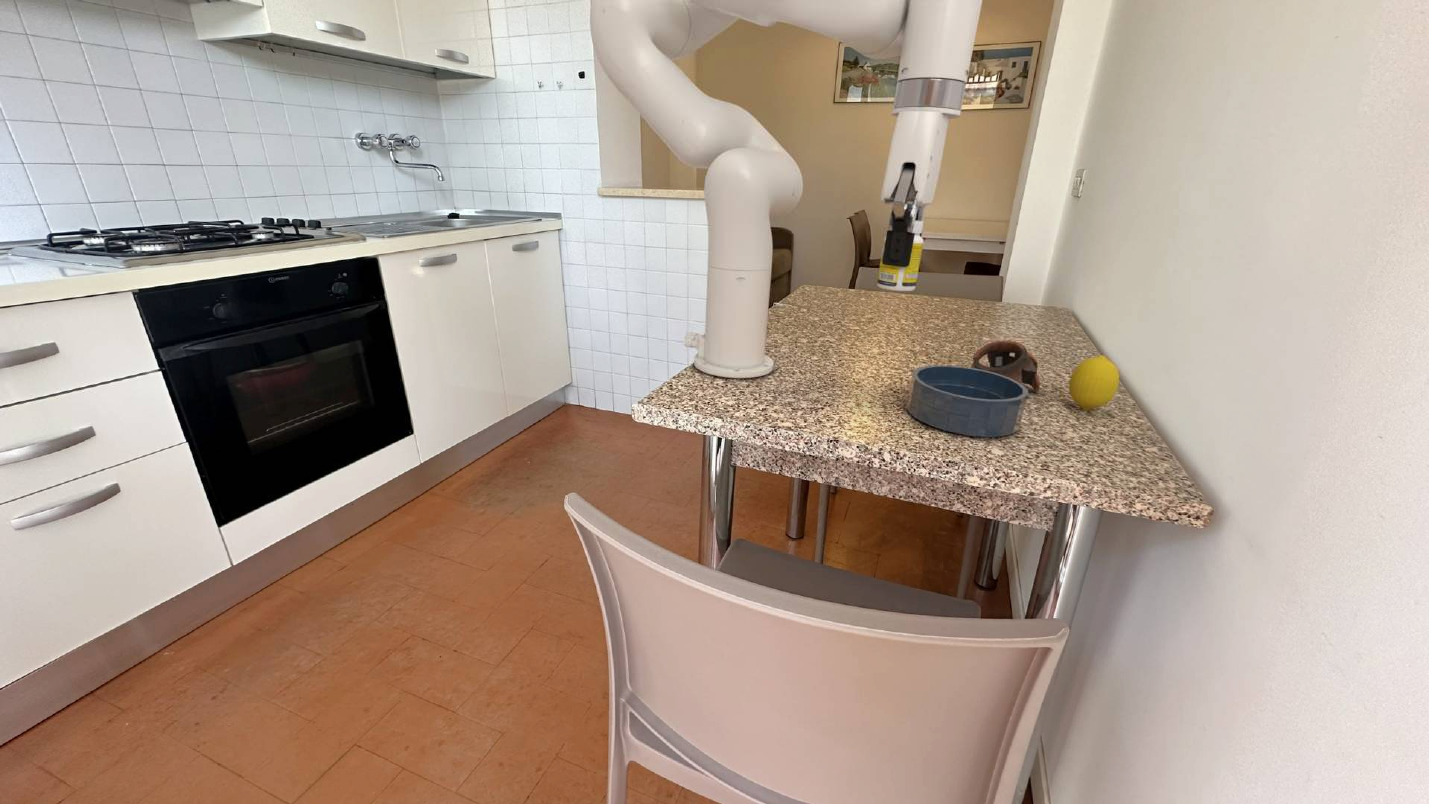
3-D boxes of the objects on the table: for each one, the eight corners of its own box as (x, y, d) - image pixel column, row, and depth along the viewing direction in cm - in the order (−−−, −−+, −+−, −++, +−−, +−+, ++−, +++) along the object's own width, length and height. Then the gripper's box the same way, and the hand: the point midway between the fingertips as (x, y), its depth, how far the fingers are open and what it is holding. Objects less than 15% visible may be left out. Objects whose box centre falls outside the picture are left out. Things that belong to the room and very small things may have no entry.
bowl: (897, 423, 72) (904, 386, 70) (915, 392, 83) (921, 359, 81) (1017, 449, 66) (1027, 409, 64) (1019, 412, 78) (1028, 377, 76)
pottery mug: (1053, 404, 82) (1045, 359, 78) (984, 423, 85) (973, 381, 81) (1024, 360, 92) (1015, 318, 88) (963, 379, 95) (952, 339, 91)
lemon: (1082, 402, 83) (1098, 348, 80) (1118, 416, 78) (1136, 360, 75) (1053, 404, 81) (1068, 350, 78) (1087, 420, 76) (1105, 362, 73)
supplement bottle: (912, 286, 75) (924, 220, 72) (917, 293, 71) (930, 222, 68) (875, 283, 76) (885, 217, 73) (877, 289, 72) (889, 220, 69)
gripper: (907, 110, 74) (884, 254, 81) (878, 91, 60) (853, 267, 67) (969, 111, 71) (939, 260, 78) (954, 91, 57) (919, 275, 64)
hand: (899, 261), depth 72 cm, fingers closed on supplement bottle, 4 cm apart
